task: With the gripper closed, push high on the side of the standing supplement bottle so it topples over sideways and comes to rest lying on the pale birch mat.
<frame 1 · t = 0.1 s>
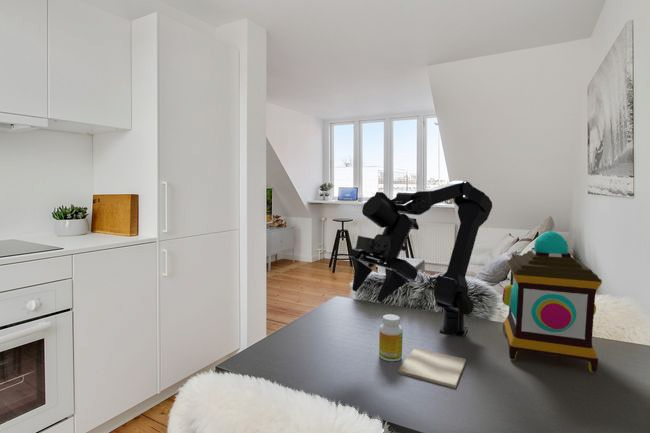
hand: (365, 295, 86), 15 cm above the table, tool tilted 30°, fingers open, 9 cm apart
decorative lantern: (544, 352, 92), on the table
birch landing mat: (432, 367, 83), on the table
supplement bottle: (390, 357, 88), on the table
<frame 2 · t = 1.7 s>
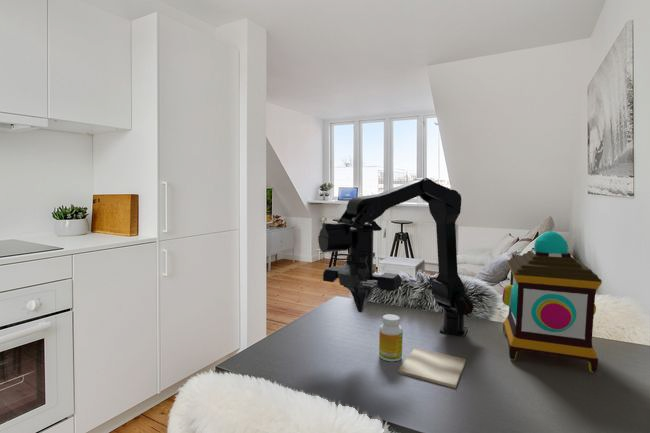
hand: (360, 312, 91), 9 cm above the table, tool pointing down, fingers closed
nothing on the table moved.
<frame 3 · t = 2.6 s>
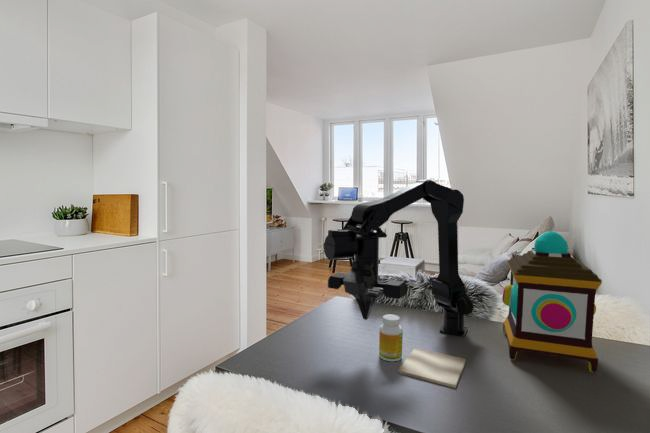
hand: (365, 319, 91), 8 cm above the table, tool pointing down, fingers closed
nothing on the table moved.
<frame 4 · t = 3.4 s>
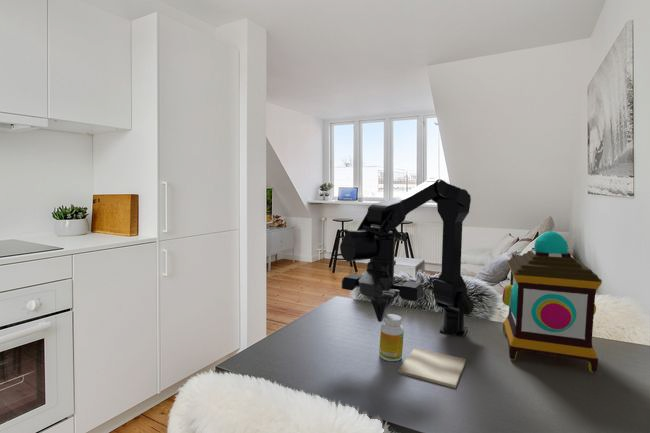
hand: (380, 321, 89), 8 cm above the table, tool pointing down, fingers closed
supplement bottle: (390, 357, 88), on the table, touching gripper
everything else where it was.
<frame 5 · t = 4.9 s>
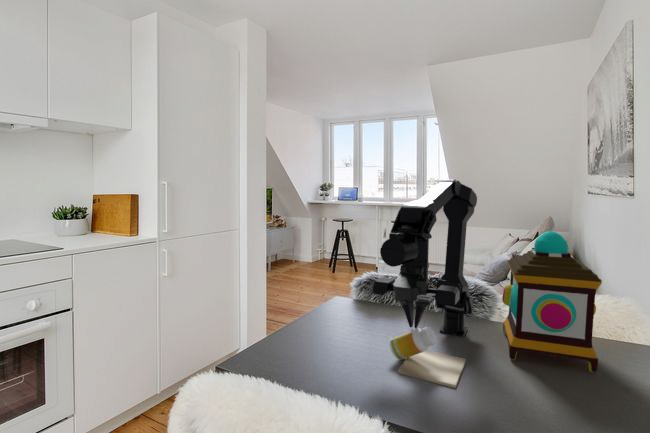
hand: (413, 327, 85), 8 cm above the table, tool pointing down, fingers closed
supplement bottle: (394, 348, 87), point 2 cm above the table, touching gripper
everything else where it was.
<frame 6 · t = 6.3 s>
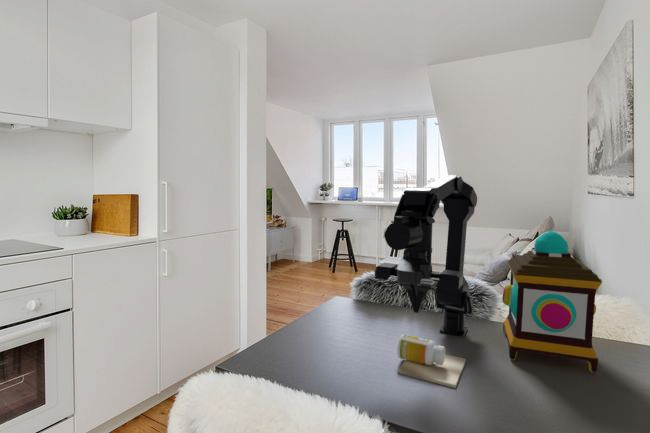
hand: (416, 312, 84), 12 cm above the table, tool pointing down, fingers closed
supplement bottle: (399, 345, 87), point 3 cm above the table, touching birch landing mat
everything else where it was.
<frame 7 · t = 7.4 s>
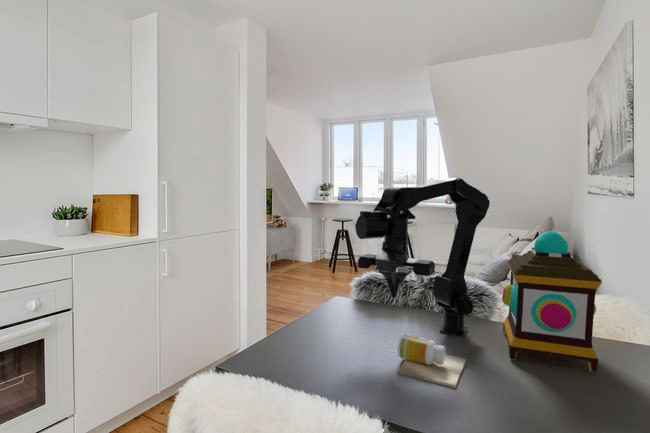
hand: (394, 297, 95), 12 cm above the table, tool pointing down, fingers closed
nothing on the table moved.
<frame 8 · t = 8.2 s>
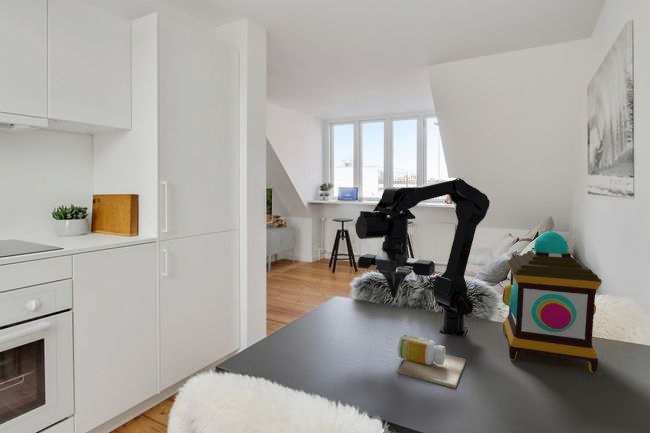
hand: (394, 297, 95), 12 cm above the table, tool pointing down, fingers closed
nothing on the table moved.
at the end: supplement bottle tilted 90°; supplement bottle inside the target area (3.7 cm from its centre), point 3.3 cm above the table; supplement bottle touching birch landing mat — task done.
